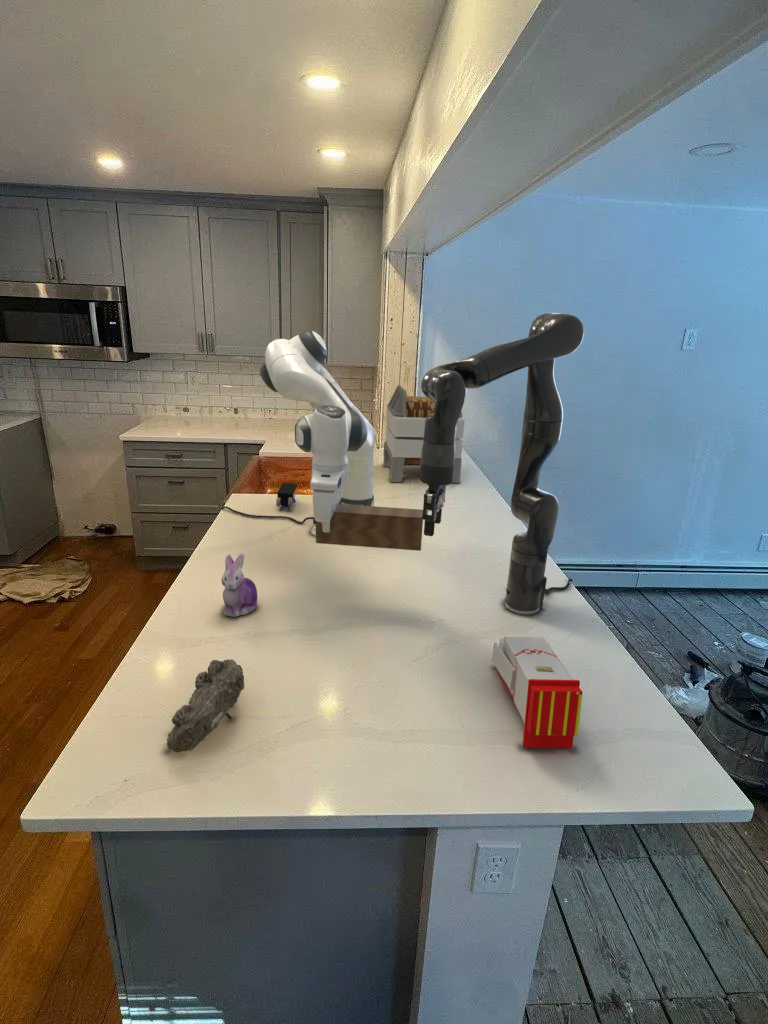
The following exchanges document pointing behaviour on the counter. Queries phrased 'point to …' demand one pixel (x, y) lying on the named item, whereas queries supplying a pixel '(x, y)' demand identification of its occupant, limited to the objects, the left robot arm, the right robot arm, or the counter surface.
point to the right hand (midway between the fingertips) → (432, 528)
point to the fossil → (206, 705)
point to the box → (373, 527)
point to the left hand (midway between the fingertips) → (329, 526)
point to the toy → (539, 691)
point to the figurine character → (286, 495)
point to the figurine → (237, 589)
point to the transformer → (412, 433)
